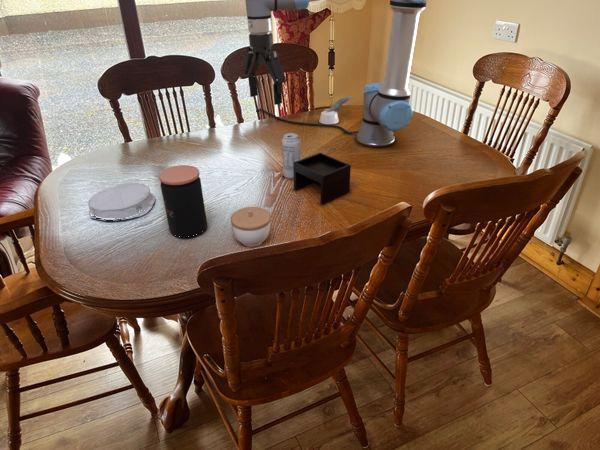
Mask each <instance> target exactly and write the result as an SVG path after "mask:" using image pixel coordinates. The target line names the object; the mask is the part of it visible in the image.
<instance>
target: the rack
mask: <svg viewBox="0 0 600 450" xmlns="http://www.w3.org/2000/svg"><path fill="white" fill-rule="evenodd" d="M351 167H352V166H351V164H349V163H347V162H344V161H342V160H340V159H338V158H335V157H332V156H330V155H329V154H328V155H327V154H325V153H322V152H317V153H315V154H313V155H309V156H307V157H304V158H302V159H300V160H299V161H296V162H294V163H293V170H294V171H293V172H294V179H293V190H294V191H295V192H296V191H299V190H302V189H304V188H307V187H309V186H311V185H315V186H317V187H319V188H320V204H321V205H323V206H324V205H326V204H328V203H331V202H333V201H334V200H337V199H338V198H341V197H343V196H345V195H348V194H349V193H350V191H351V189H350V188H351V170H352V169H351Z"/></svg>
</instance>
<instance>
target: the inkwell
mask: <svg viewBox="0 0 600 450" xmlns="http://www.w3.org/2000/svg"><path fill="white" fill-rule="evenodd" d="M354 99H355V98H354V97H353V96H351V95H350V96H349V95H348V96H343V97H342V98H340V99H338V100H337V101H336V102H334V103H333V104H332V106H331V107H330V108H325V109H324V110H323V111H321V113H320V116H319V119H318V122H319V124H326V125H337V124H338V123H339V122H340V118H339V115H338V112H337V111H338V110H340V109H341V107H343V105H344V104H347V102H349V101H351V100H354Z"/></svg>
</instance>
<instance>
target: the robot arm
mask: <svg viewBox="0 0 600 450" xmlns="http://www.w3.org/2000/svg"><path fill="white" fill-rule="evenodd" d="M317 1H319V0H245V1H244V2H245V9H246V10H245V11H246V18H247V19H246V20H247V27H248V33H249V35H248V41H249V46H247V47H246V55H245V62H244V67H243V75H246V76H247V80H248V87H249V97H250V98H254V97H257V96H259V92H258V91H259V90H258V82H257V75H256V73H257V70H258V69H259V66H260V65H263V66H264V67H265V68H266V70H267V71H268V73H269V75H270V78H271V80H272V81H273V83H272V91H273V105H276V106H277V105H280V104H283V95H282V94H283V84H284V83H286V82H287V78H286V76H285V73H284V69H283V66H282V63H281V61H280V57H279V51H278V50H274V51H272V48H271V47H273V45H274V38H273V37H274V36H273V33H272V31H273V21H272V12H278V11H299V10H306V9H307V8H308V7H309V5H310V2H317ZM427 2H428V0H389V7H390V9H391V10H392V17H391V19H392V20H391V26H390V33H389V40H388V48H387V54H386V62H385V69H384V76H383V81H382V82H372V83H371V82H370V83H368V84H366V85H365V86H364V88H363V100H362V101H363V104H362V118H361V119H362V122H361V124H360V127H359V130H356V131H355V130H354V131H348V130H346V129H345V128H344V127H343V126H340V125H337V124H322V123H311V122H303V121H302V122H301V121H294V120H289V119H285V118H282V117H279V116H277V115H275V114H273V113H271V112H269V111H267V110H265V109H263V108H258V109H256V110H255V113H258V112H263V113H265V114H267V115H269V116H272V117H273V118H275V119H277V120H278V121H281V122H286V123H289V124H294V125H303V126H313V127H314V126H316V127H326V128H327V127H328V128H336V129H339V130H341V131H343V132H344V133H345V134H347V135H354V134H356V142H357V143H358V144H359V145H361V146H365V147H369V148H385V147H386V148H387V147H389V146H392V145H393V144H394V143H395V140H396V139H395V138H396V136H395V132H397V131H401V130H403V129H404V128H405V127H406V126H408V125H409V124H410V122H411V120H412V118H413V107H412V105H411V104H410V101H411V94H412V92H411V90H410V89H409V79H410V75H411V67H412V63H413V56H414V50H415V45H416V37H417V33H418V26H419V20H420V15H421V13H422V12H423V11H424V10H425V9H426V7H427Z"/></svg>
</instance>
